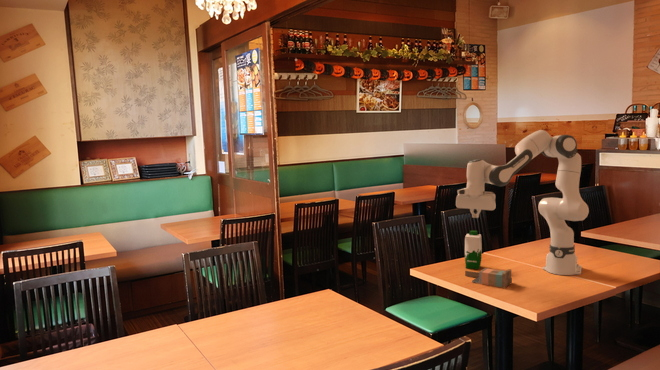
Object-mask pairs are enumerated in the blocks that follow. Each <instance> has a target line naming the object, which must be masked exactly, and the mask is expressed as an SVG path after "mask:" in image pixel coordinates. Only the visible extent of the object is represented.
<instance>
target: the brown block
mask: <svg viewBox="0 0 660 370" xmlns="http://www.w3.org/2000/svg"><path fill="white" fill-rule="evenodd" d="M500 271H502V270H498V269H494V270H493V271H491V272H490V273H488V285H487V286H491V287H496V286H495V274H497V273H498V272H500Z"/></svg>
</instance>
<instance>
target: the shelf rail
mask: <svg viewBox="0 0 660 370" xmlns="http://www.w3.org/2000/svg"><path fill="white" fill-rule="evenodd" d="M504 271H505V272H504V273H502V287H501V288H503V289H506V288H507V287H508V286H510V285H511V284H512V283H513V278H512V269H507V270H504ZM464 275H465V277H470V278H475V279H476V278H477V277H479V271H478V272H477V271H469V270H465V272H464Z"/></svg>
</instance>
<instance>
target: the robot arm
mask: <svg viewBox="0 0 660 370" xmlns="http://www.w3.org/2000/svg"><path fill="white" fill-rule="evenodd" d="M549 133H550V132H549ZM549 133H548V131H546V130H543V129H538V130H536V131H534V132H531V133H530V134H528V135H526V136H525V137H524V138H522V139H521V140H519V141H518V142H517V144H516V145H515V146H514V152H515V155H516V156H515V157H514V158H512V159H511V160H510V161H508V162H507V163H506V164H504V165H495V164H491V163H488V162H486V161H485V160H484V159H483V158H475V159H471V160H469V161H468V162H467V167H466V181H467V182H466V187H463V188H461V189H457V191H456V192H457V195H456V197H455V206H456V208H457V209H469V212H470V214H471V218H474V219H479V217H480V213H481V212H482V211H494V210H495V209H496V206H497V205H496V194H495V192H493V191H485V184H491V185H494V186H497V187H505V186H507V185H508V184H509V183H510V182H511V180H512V179H513V177H514V175H516V174H517V173H518V172H519V171H521V170H522V169H523V168H524V167H526V166H527V165H528V164H529V163H530V161H532V160H533V159H534V158H536V157H537V156H538V155H540V154H542V156H544V157H546V158H557V160H558V167H557V172H556V179H555V188H557V190H559V191H560V192H561V193H562V198H560V197H554V196H553V197H543V198H542V199H541V200H540V201H539V202H538V207H537V208H538V212H539V214H540V215H541V216H542V217H543V218H544V219H545V220H546V223H547V225H548V227H549V232H550V244H549V247H548V248H549V252H548V253H546V259H545V266H543V267H542V270H544V271H546V272H547V273H549V274H550V273H551V274H554V275H559V276H572V275H573V276H574V275H582V267H583V266H582V265H580V264H579V263H578V256H577V255H576V251H575V250H576V246H575V244H574V243H575V242H574V241H575V238H574V237H575V231H574V230H573V228H571V227H570V226H568V224H567V223H566V221H571V222H579V221H580V222H581V221H584V220H585V219H586V218H588V215H589V212H590V210H589V205H588V204H587V203H586V202H585V201H584V199H583V198H582V196H581V193H580V178H581V172H582V156H581V155H580V154H579V153H578V142H577V140H576V138H575V137H574V136H573V135H570V134H559V135H555V136H551V135H550V134H549ZM475 210H476V213H475V212H474V211H475Z"/></svg>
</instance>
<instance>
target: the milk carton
mask: <svg viewBox="0 0 660 370" xmlns="http://www.w3.org/2000/svg"><path fill="white" fill-rule="evenodd" d="M482 245H483V244H482V234H480V233H479V234H478V230H469V233H466V235H465V237H464V261H465V263H464V264H465V269H470V270H480V267H481V265H482V254H483V253H482V249H483V248H482Z"/></svg>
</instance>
